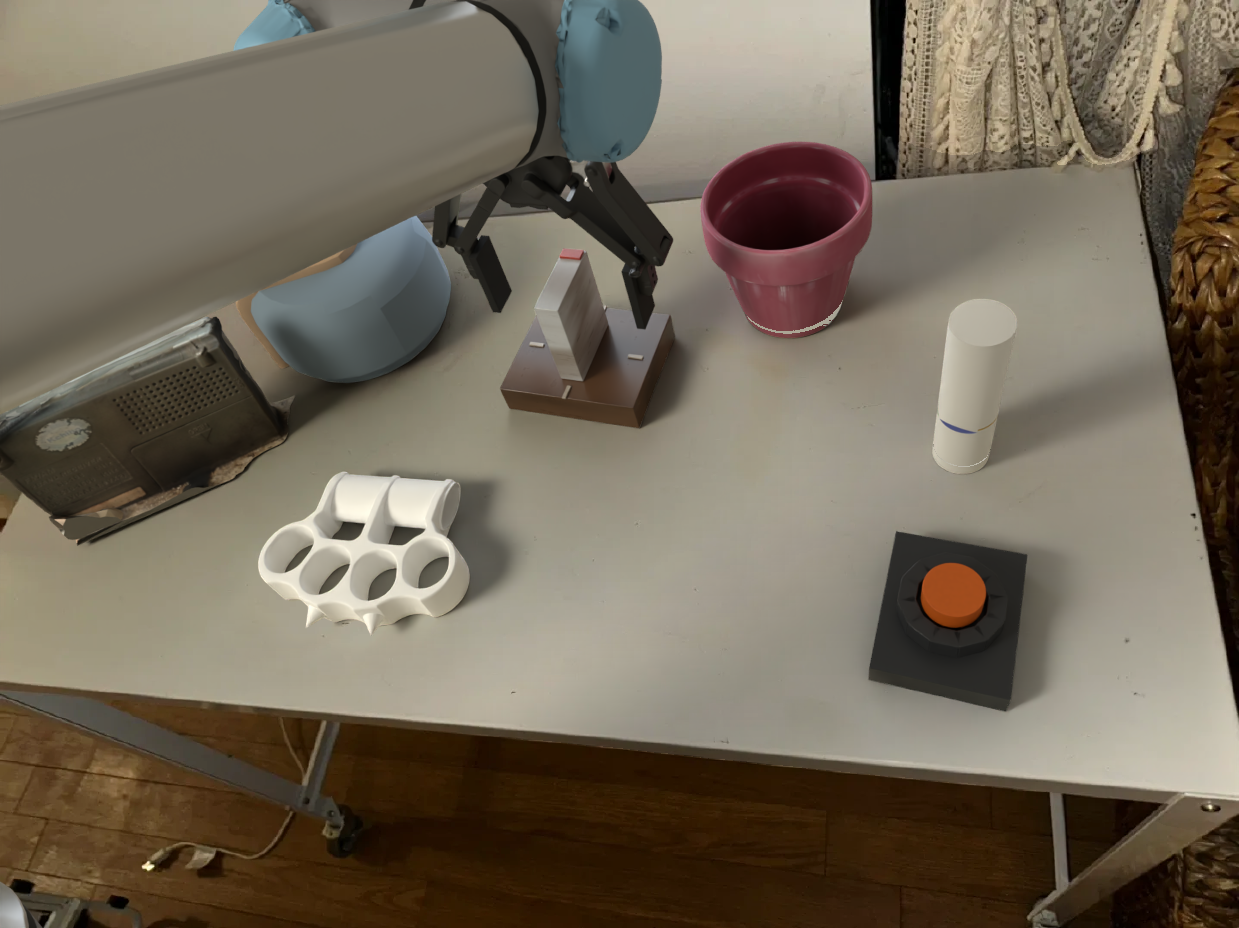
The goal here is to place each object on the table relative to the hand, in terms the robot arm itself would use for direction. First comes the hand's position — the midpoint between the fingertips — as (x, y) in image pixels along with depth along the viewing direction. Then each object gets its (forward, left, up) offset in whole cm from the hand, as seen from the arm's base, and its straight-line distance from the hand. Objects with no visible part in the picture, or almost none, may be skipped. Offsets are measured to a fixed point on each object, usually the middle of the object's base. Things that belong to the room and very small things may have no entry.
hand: (572, 309), depth 79 cm
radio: (-18, +37, -8) cm, 42 cm away
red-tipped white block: (0, 0, -5) cm, 5 cm away
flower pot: (+11, -16, -8) cm, 21 cm away
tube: (-3, -33, -8) cm, 34 cm away
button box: (-18, -34, -8) cm, 39 cm away
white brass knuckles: (-23, +12, -8) cm, 27 cm away
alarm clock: (+3, +27, -8) cm, 28 cm away
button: (-18, -34, -5) cm, 39 cm away
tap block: (0, 0, -8) cm, 8 cm away
